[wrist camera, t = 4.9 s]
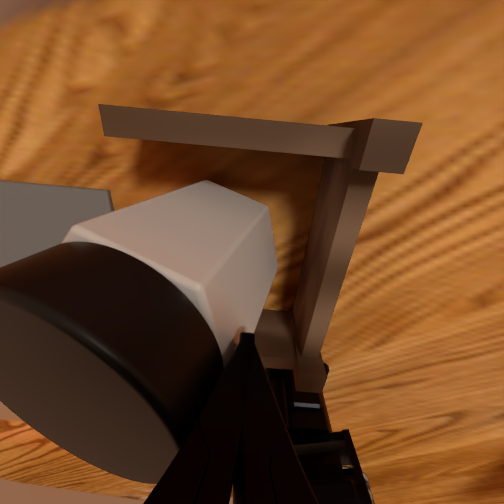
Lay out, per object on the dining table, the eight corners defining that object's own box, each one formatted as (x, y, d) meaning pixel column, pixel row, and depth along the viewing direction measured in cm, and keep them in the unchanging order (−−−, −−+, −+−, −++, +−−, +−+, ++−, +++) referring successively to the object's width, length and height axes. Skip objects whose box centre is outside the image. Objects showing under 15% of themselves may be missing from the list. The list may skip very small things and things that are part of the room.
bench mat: (133, 308, 21) (132, 310, 21) (16, 298, 21) (12, 300, 21) (109, 190, 16) (107, 191, 16) (-46, 176, 16) (-51, 177, 16)
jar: (163, 260, 19) (-24, 400, 9) (177, 163, 15) (-139, 218, 5) (259, 305, 18) (175, 517, 8) (302, 217, 14) (241, 419, 4)
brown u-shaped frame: (305, 325, 22) (321, 393, 16) (171, 313, 22) (139, 378, 16) (356, 127, 14) (422, 122, 8) (148, 108, 14) (71, 89, 8)
